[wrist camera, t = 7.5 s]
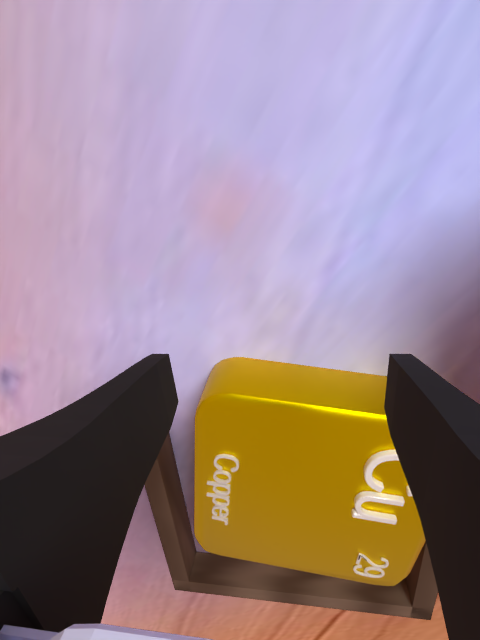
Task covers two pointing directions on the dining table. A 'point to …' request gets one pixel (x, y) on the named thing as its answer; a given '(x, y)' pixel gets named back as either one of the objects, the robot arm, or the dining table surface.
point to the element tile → (302, 472)
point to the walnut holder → (268, 580)
